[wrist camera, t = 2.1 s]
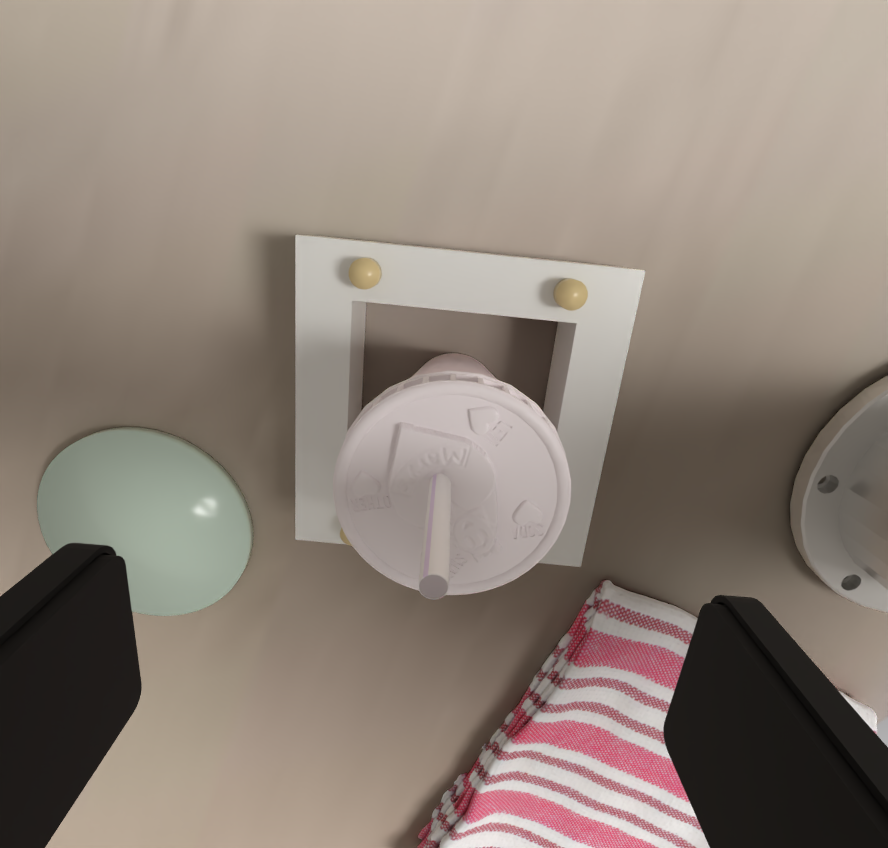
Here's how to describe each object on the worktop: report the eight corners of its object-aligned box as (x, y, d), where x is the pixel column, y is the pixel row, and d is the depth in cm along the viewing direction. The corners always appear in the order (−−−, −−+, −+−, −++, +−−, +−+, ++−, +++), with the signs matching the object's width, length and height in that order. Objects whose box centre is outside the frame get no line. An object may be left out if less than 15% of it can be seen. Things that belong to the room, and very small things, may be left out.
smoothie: (480, 291, 21) (520, 373, 8) (552, 418, 23) (684, 659, 10) (351, 370, 22) (201, 556, 9) (430, 485, 24) (399, 779, 11)
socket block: (617, 266, 21) (654, 271, 17) (565, 527, 25) (585, 578, 21) (318, 235, 21) (288, 234, 17) (315, 502, 25) (289, 550, 21)
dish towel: (404, 838, 33) (398, 904, 30) (598, 563, 26) (619, 610, 23) (629, 918, 35) (647, 988, 32) (866, 685, 28) (921, 744, 25)
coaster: (250, 438, 24) (245, 442, 23) (255, 616, 27) (251, 624, 26) (30, 416, 23) (19, 420, 23) (63, 598, 27) (54, 606, 26)
